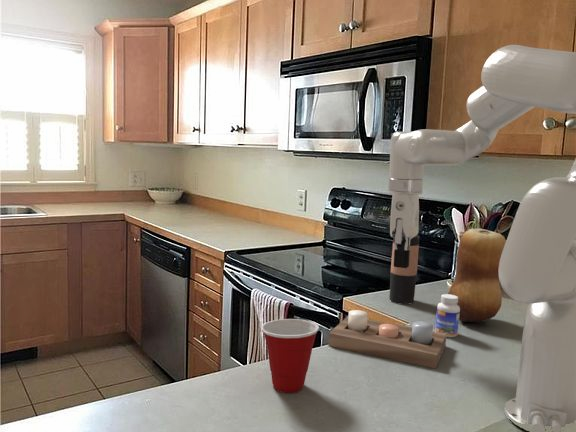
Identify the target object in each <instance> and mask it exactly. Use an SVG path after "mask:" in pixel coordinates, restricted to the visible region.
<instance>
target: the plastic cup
mask: <svg viewBox="0 0 576 432" xmlns="http://www.w3.org/2000/svg"><path fill="white" fill-rule="evenodd" d="M260 327H261V332H262V333H263V335H264V339H265V344H266V345H267V348H266V349H267V354H268V361H269V370H270V373H271V374H270V375H271V382H272V387H273V388H274V390H276V391H278V392H280V393H284V394H294V393H298V392H301V390H303V388H304V386H305V381H306V377H307V374H308V369H309V365H310V361H311V357H312V356H311V355H312V352H313V346H314V344H315V339H316V337H317V336H316V335H317V334H318V333H317V332H318V331H320V327H319V325H318V323H315V322H313V321H311V320H307V319H298V318H297V319H296V318H284V319H283V318H282V319H273V320H271V321H267V322H264V323H263V324H262V325H261V326H260Z"/></svg>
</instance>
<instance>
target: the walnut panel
mask: <svg viewBox="0 0 576 432" xmlns="http://www.w3.org/2000/svg"><path fill="white" fill-rule="evenodd" d="M348 317H349V315H347V316H346V317H345V318H344V319H343V320H342V321H340V323H338V324H337V325H336V326H335V327H334V328H333V329H332V330H331V331H329V332H328V346H329V347H333V348H339V349H342V350H348V351H353V352H355V353H356V352H358V353H362V354H366V355H371V356H376V357H379V358H380V357H381V358H384V359H390V360H394V361H399V362H403V363H409V364H414V365H419V366H422V367H427V368H432V369H437V367H438V364H439V362H440V360H441V358H442V355H443V353H444V351H445V348H446V346H447V345H446V344H447V337H446V335H447V334H445V333H440V332H435V330H433V331H432V343H431V345H425V344H420V343H414V342H412V341H411V338H412V326H406V325H400V324H394V323H392V322H383V321H378V320H374V319H370V318H369V319H368V318H367V330H366V332H358V331H353V330H348ZM381 324H392V325H396V326H397V327H399V332H398V338H397V339H394V338H389V337H384V336H379V326H380V325H381Z"/></svg>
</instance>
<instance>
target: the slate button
mask: <svg viewBox="0 0 576 432" xmlns="http://www.w3.org/2000/svg"><path fill="white" fill-rule="evenodd" d="M411 327H412V338H411V341H412V342H414V343H420V344H425V345H431V343H432V331H434V325H433V324H432V323H430V322H427V321H414V322H412V326H411Z"/></svg>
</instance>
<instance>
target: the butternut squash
mask: <svg viewBox="0 0 576 432" xmlns="http://www.w3.org/2000/svg"><path fill="white" fill-rule="evenodd" d="M506 240H507V239H506V238H505V236H504V235H502V234H501V233H498V232H495V231H492V230H488V229H484V228H480V227H479V228H470V229H467V230H466V231H465V232H463V234H462V235H461V238H460V241H459V243H458V244H459V245H458V249H457V253H456V265H455V277H454V280H453V282H452V284H451V285H450V287H449V291H448V293H447V294H451V295H455V296H457V297H458V303H457V305H458V306H459V307H460V315H459V320H461V321H462V322H465V323H474V324H475V323H478V324H479V323H483V322H485V321H489V320H490V319H493V318H494V317H495V316H496V315H497V314H498V312H499V311H500V309H501V307H502V302H503V299H502V298H503V297H502V289H501V283H500V280H499V273H498V269H499V262H500V258H501V254H502V251H503V249H504V246H505V243H506Z"/></svg>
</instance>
